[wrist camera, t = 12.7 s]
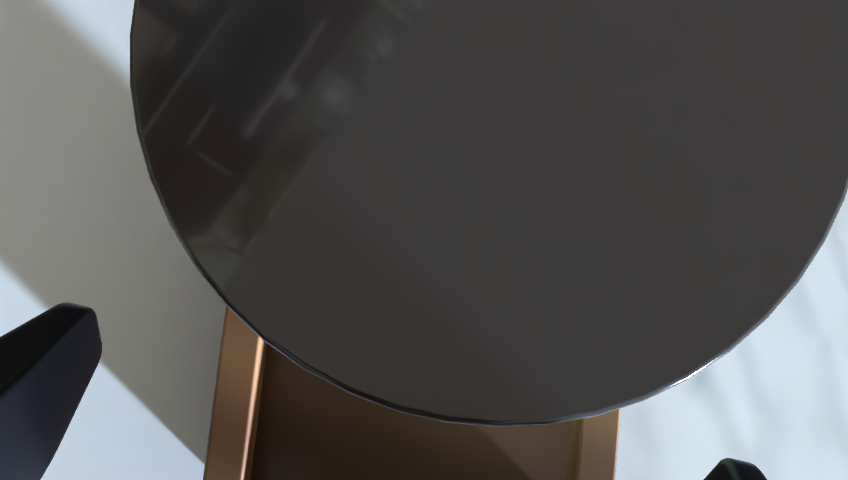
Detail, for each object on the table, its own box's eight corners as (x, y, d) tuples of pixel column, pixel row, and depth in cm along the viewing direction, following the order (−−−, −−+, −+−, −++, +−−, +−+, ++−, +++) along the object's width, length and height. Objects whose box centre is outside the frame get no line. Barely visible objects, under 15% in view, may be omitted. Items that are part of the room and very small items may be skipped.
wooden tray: (566, 531, 21) (610, 596, 16) (235, 497, 21) (188, 554, 16) (603, 97, 22) (654, 47, 17) (291, 61, 22) (261, 1, 17)
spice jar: (472, 375, 18) (640, 580, 5) (280, 257, 18) (-26, 166, 5) (586, 184, 19) (996, -63, 6) (398, 71, 19) (382, -427, 6)
